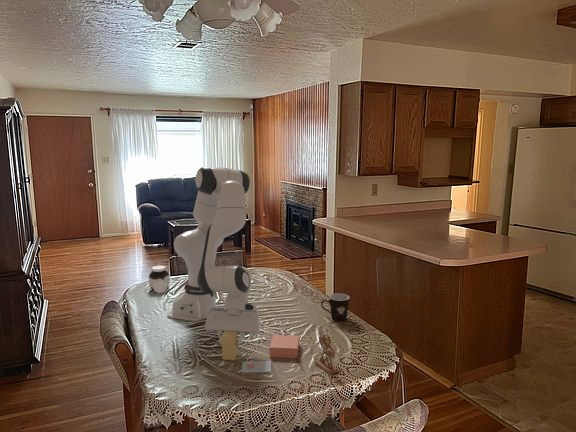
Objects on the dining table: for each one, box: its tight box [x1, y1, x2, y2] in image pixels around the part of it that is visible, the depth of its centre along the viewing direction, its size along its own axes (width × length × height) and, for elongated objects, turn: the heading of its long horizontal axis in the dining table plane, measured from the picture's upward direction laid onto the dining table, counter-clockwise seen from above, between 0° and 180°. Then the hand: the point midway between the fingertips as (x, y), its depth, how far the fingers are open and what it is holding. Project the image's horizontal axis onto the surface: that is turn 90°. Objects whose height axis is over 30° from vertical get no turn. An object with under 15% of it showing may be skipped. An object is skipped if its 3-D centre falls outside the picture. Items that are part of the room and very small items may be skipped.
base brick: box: [269, 334, 300, 359], centre depth 161 cm, size 10×10×4 cm
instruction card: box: [240, 360, 272, 374], centre depth 149 cm, size 10×7×1 cm
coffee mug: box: [320, 293, 350, 323], centre depth 189 cm, size 12×9×10 cm
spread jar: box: [148, 265, 171, 294], centre depth 225 cm, size 12×11×12 cm
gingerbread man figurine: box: [314, 334, 340, 376], centre depth 148 cm, size 9×4×12 cm, turn 33°
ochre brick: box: [221, 331, 239, 361], centre depth 156 cm, size 4×4×9 cm
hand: (229, 344), depth 155 cm, fingers closed on ochre brick, 4 cm apart
